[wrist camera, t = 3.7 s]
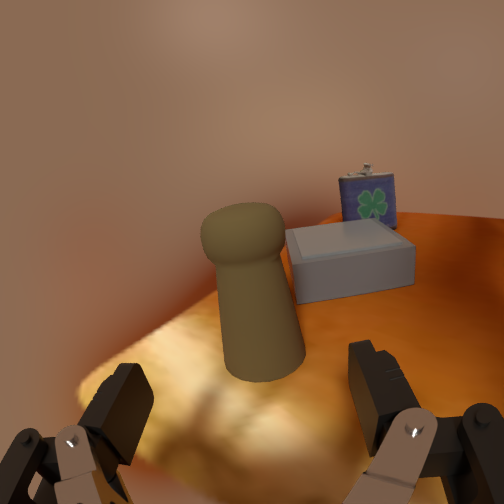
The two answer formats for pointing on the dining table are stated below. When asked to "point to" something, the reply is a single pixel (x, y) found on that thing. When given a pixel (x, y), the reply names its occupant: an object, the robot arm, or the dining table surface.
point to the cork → (253, 292)
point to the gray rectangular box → (348, 259)
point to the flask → (369, 196)
